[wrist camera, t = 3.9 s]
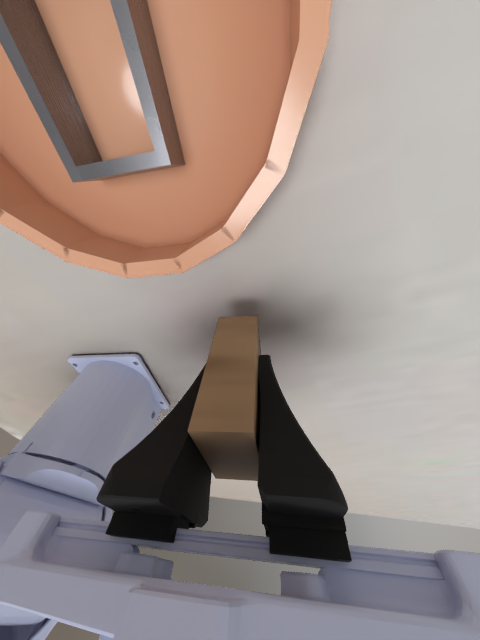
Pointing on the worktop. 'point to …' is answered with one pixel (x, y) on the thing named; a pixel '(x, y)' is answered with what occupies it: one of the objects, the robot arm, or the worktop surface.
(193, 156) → the orange round shallow bowl
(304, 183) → the worktop surface
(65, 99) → the hinged hatch frame
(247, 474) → the wood hatch door
